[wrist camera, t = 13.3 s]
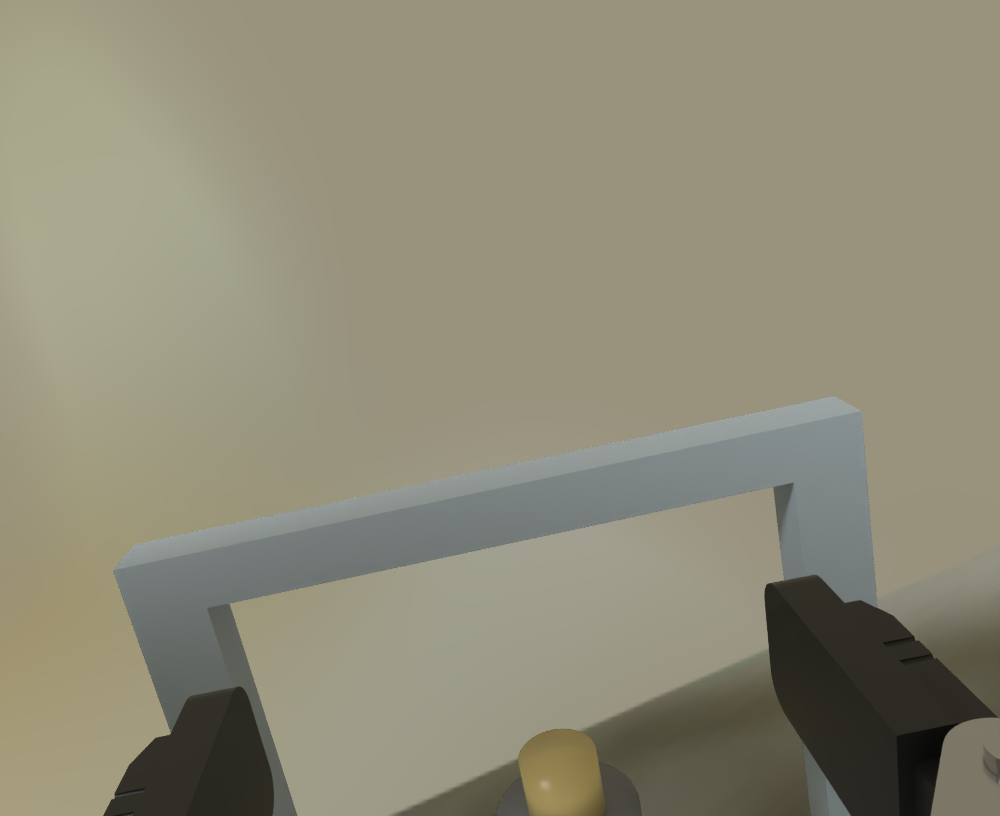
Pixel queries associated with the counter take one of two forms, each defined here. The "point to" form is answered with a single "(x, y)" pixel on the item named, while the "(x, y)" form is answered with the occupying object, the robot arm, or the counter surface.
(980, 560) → the counter surface
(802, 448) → the rectangular arch frame
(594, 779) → the bottle
